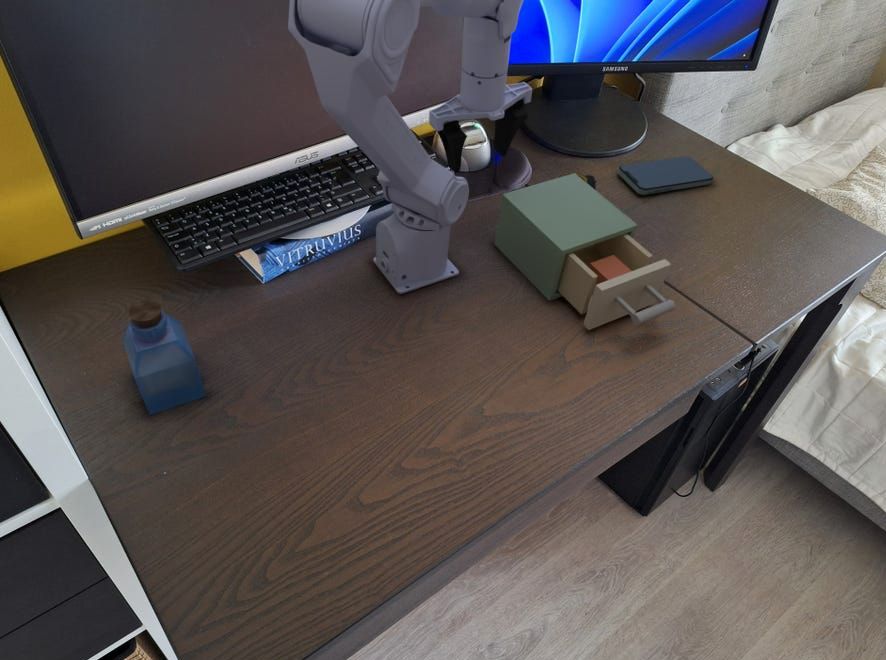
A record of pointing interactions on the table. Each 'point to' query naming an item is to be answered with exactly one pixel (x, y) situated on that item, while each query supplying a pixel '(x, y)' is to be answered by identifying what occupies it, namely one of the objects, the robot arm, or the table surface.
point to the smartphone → (664, 175)
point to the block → (608, 269)
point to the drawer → (615, 283)
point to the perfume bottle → (161, 358)
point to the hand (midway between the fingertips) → (477, 160)
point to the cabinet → (555, 227)
